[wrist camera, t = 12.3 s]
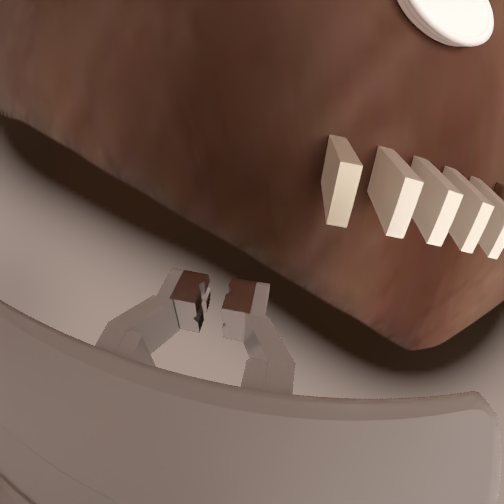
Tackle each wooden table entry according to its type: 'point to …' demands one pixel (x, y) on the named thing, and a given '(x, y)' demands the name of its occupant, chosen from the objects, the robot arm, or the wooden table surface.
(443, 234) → the domino
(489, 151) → the wooden table surface
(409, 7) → the coaster
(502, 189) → the end block
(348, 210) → the domino
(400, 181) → the domino
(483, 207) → the domino
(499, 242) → the domino
